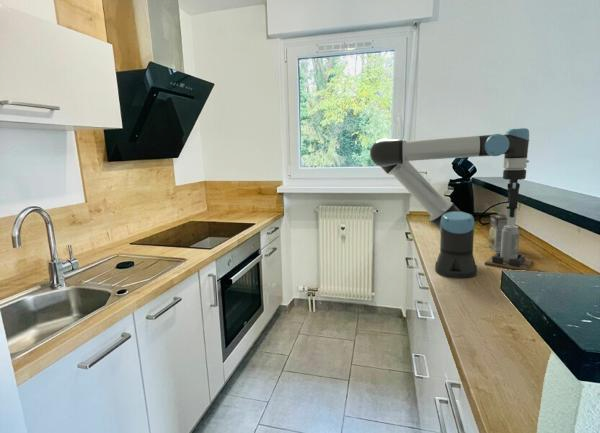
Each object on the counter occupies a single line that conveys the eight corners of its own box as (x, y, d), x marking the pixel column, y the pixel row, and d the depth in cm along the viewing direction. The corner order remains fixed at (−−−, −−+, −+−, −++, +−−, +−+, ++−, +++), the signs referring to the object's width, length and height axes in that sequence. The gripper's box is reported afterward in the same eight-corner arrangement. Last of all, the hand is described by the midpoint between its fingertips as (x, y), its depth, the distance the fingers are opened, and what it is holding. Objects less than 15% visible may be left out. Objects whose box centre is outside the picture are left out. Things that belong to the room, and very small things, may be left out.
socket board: (524, 272, 121) (525, 263, 121) (484, 264, 131) (484, 256, 131) (532, 262, 131) (533, 254, 130) (494, 256, 141) (495, 248, 140)
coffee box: (487, 246, 155) (489, 214, 152) (502, 246, 154) (504, 214, 151) (495, 251, 146) (497, 218, 143) (510, 251, 145) (512, 218, 142)
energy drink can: (506, 258, 135) (509, 224, 132) (520, 262, 129) (523, 226, 126) (496, 260, 133) (498, 226, 130) (510, 264, 127) (513, 228, 124)
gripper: (528, 171, 111) (523, 229, 115) (524, 167, 132) (520, 216, 136) (503, 171, 115) (499, 227, 119) (503, 167, 136) (499, 215, 140)
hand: (510, 221), depth 128 cm, fingers open, 13 cm apart
